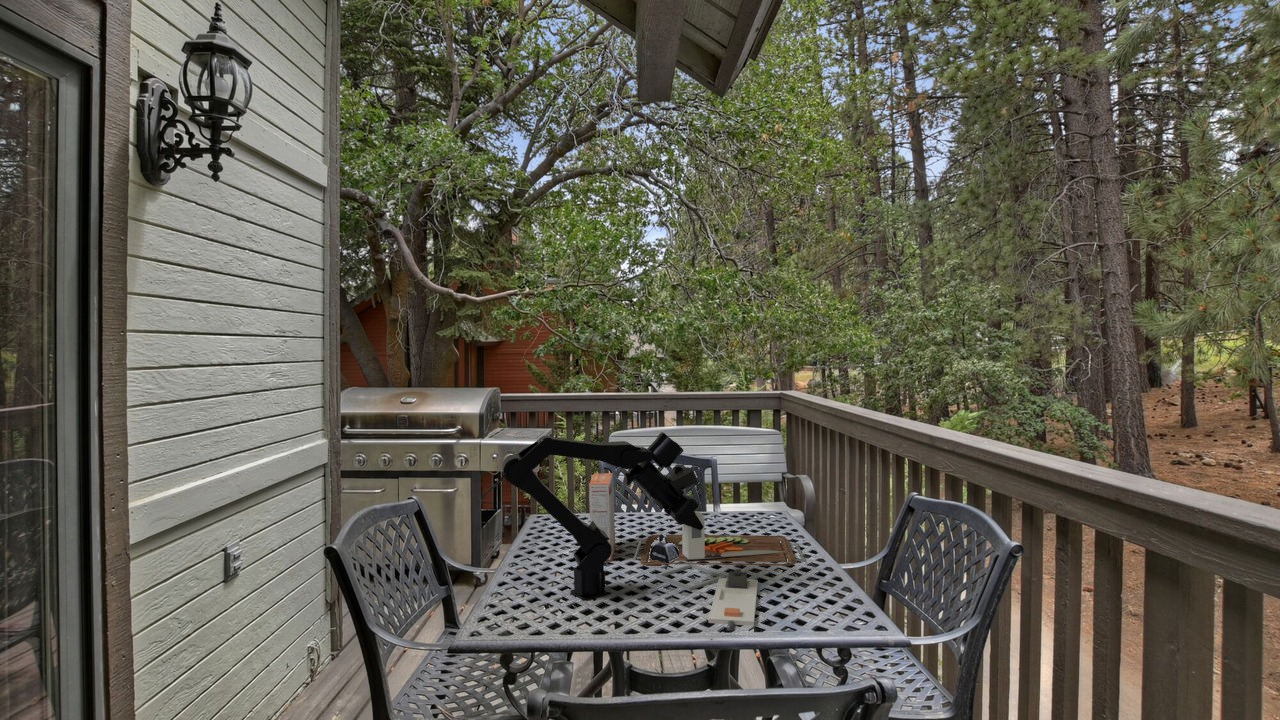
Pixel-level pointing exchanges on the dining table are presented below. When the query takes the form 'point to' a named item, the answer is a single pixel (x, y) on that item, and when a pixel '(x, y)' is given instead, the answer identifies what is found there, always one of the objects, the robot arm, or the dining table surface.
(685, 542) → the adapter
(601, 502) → the cracker box
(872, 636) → the dining table surface
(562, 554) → the dining table surface
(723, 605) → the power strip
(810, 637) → the dining table surface
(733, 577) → the black plug
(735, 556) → the chopping board
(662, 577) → the tray
